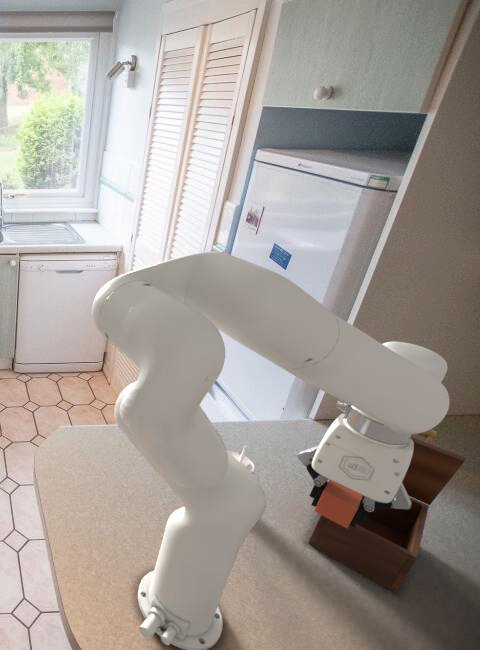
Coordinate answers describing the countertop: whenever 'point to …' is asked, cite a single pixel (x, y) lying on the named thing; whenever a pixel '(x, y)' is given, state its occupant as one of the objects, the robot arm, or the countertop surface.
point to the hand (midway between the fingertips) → (334, 510)
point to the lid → (429, 469)
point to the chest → (376, 542)
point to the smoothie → (244, 460)
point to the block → (338, 503)
